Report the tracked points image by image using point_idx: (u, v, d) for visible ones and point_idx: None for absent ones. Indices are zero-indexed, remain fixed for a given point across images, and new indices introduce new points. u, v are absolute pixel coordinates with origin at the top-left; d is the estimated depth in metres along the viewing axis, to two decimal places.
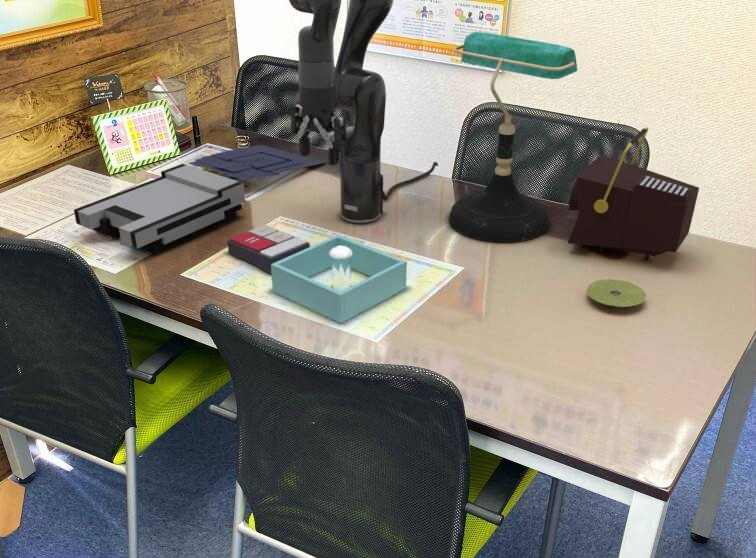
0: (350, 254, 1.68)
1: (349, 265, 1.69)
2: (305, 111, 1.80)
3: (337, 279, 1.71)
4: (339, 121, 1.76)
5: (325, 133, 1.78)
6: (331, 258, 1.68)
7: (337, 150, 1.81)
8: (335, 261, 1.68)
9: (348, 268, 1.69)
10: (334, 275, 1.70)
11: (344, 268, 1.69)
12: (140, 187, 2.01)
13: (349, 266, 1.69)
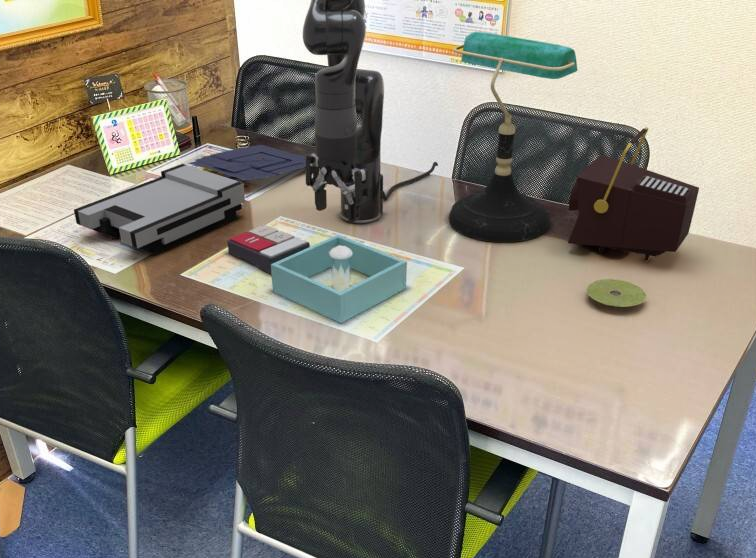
0: (350, 254, 1.68)
1: (349, 265, 1.69)
2: (322, 162, 1.59)
3: (337, 279, 1.71)
4: (361, 175, 1.55)
5: (345, 187, 1.57)
6: (331, 258, 1.68)
7: (358, 206, 1.60)
8: (335, 261, 1.68)
9: (348, 268, 1.69)
10: (334, 275, 1.70)
11: (344, 268, 1.69)
12: (140, 187, 2.01)
13: (349, 266, 1.69)
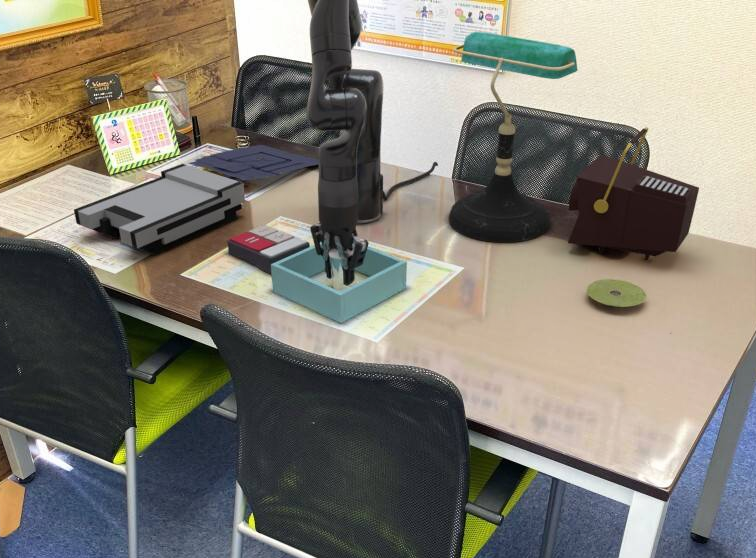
0: None
1: None
2: (324, 226, 1.67)
3: (337, 279, 1.71)
4: (361, 247, 1.63)
5: (343, 254, 1.66)
6: (330, 258, 1.68)
7: (352, 270, 1.69)
8: (334, 261, 1.68)
9: None
10: (334, 275, 1.70)
11: None
12: (140, 187, 2.01)
13: None
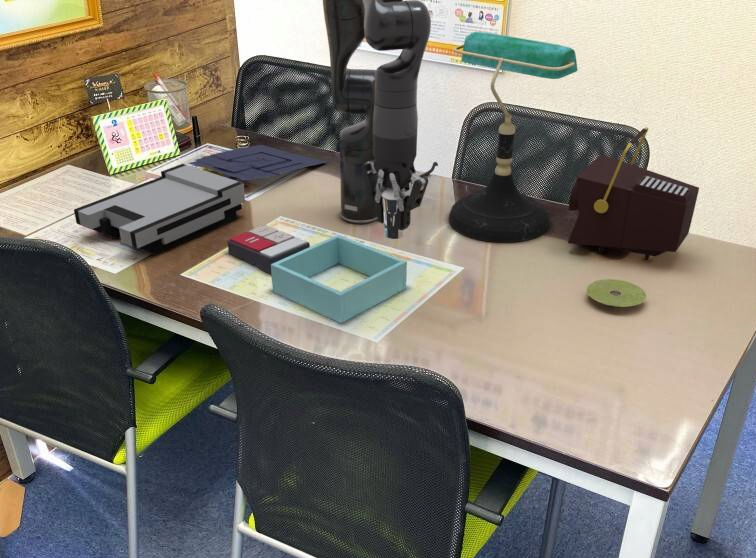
0: None
1: None
2: (378, 162, 1.50)
3: (390, 223, 1.54)
4: (421, 185, 1.46)
5: (399, 193, 1.49)
6: (384, 199, 1.51)
7: (408, 213, 1.52)
8: (388, 202, 1.51)
9: None
10: (387, 218, 1.53)
11: None
12: (140, 187, 2.01)
13: None
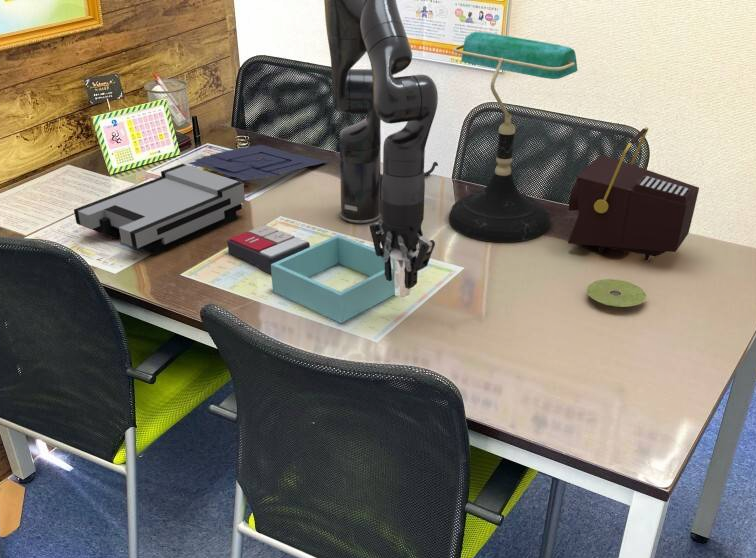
0: None
1: None
2: (386, 225, 1.55)
3: (398, 281, 1.59)
4: (428, 248, 1.51)
5: (407, 255, 1.54)
6: (392, 259, 1.57)
7: (415, 272, 1.57)
8: (396, 262, 1.56)
9: None
10: (394, 277, 1.59)
11: None
12: (140, 187, 2.01)
13: None
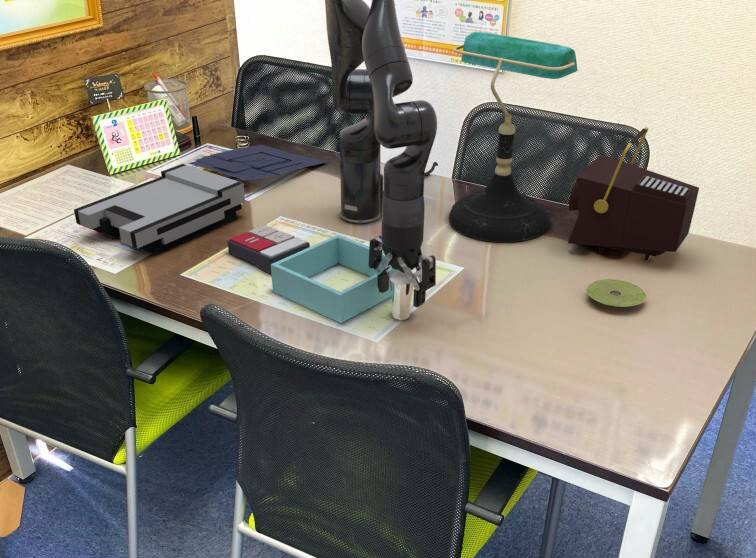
0: None
1: (411, 290, 1.60)
2: (387, 247, 1.57)
3: (398, 305, 1.62)
4: (429, 263, 1.53)
5: (411, 274, 1.55)
6: (392, 283, 1.59)
7: (424, 291, 1.58)
8: (396, 286, 1.59)
9: (410, 294, 1.60)
10: (394, 301, 1.61)
11: (406, 294, 1.60)
12: (140, 187, 2.01)
13: (411, 291, 1.60)
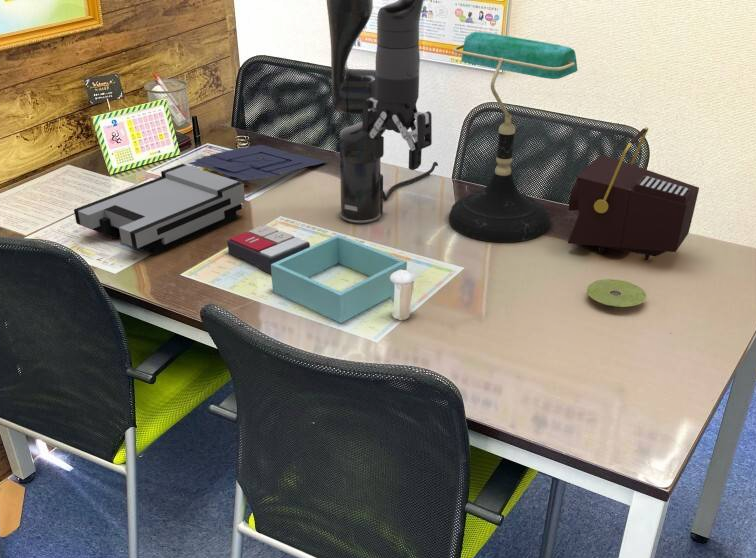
0: (412, 279, 1.59)
1: (411, 290, 1.60)
2: (381, 106, 1.52)
3: (398, 305, 1.62)
4: (424, 118, 1.48)
5: (406, 132, 1.51)
6: (392, 283, 1.59)
7: (419, 152, 1.53)
8: (396, 286, 1.59)
9: (410, 294, 1.60)
10: (394, 301, 1.61)
11: (406, 294, 1.60)
12: (140, 187, 2.01)
13: (411, 291, 1.60)
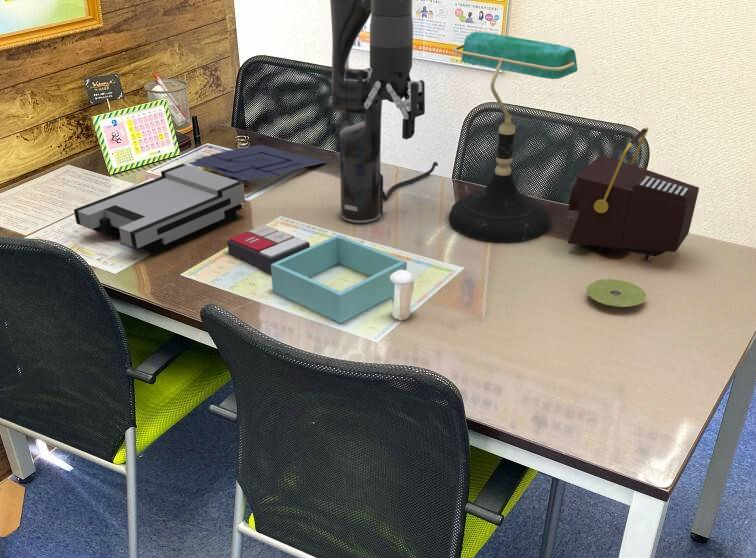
0: (412, 279, 1.59)
1: (411, 290, 1.60)
2: (375, 76, 1.55)
3: (398, 305, 1.62)
4: (417, 86, 1.50)
5: (400, 101, 1.53)
6: (392, 283, 1.59)
7: (413, 121, 1.55)
8: (396, 286, 1.59)
9: (410, 294, 1.60)
10: (394, 301, 1.61)
11: (406, 294, 1.60)
12: (140, 187, 2.01)
13: (411, 291, 1.60)
